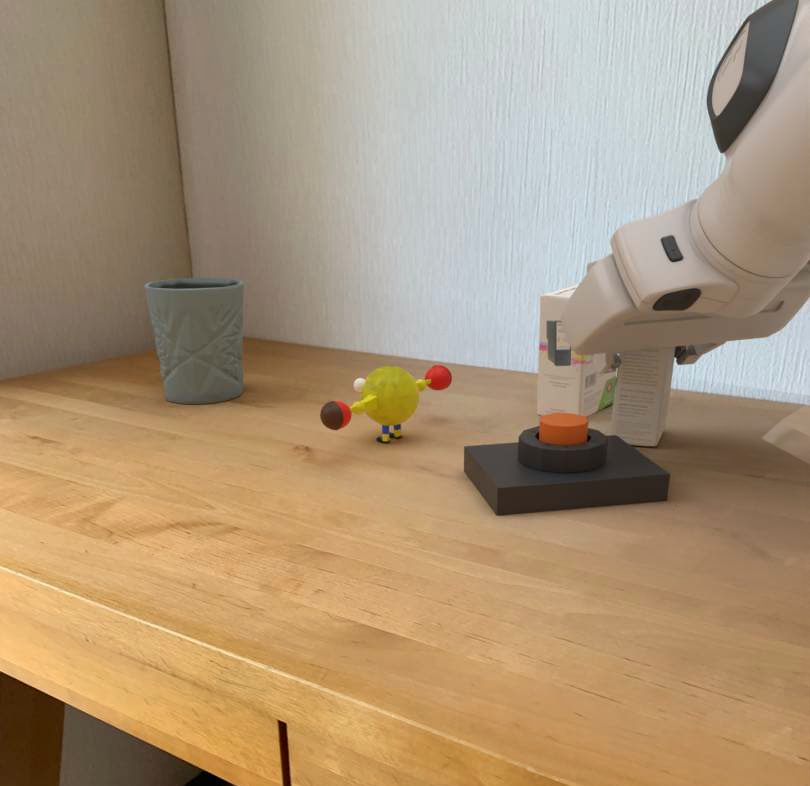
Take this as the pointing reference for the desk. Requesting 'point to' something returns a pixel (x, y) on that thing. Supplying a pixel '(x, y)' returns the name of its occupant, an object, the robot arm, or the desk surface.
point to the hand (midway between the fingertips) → (642, 362)
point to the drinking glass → (198, 337)
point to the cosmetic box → (642, 395)
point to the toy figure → (386, 399)
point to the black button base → (563, 474)
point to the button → (563, 429)
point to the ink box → (567, 365)
